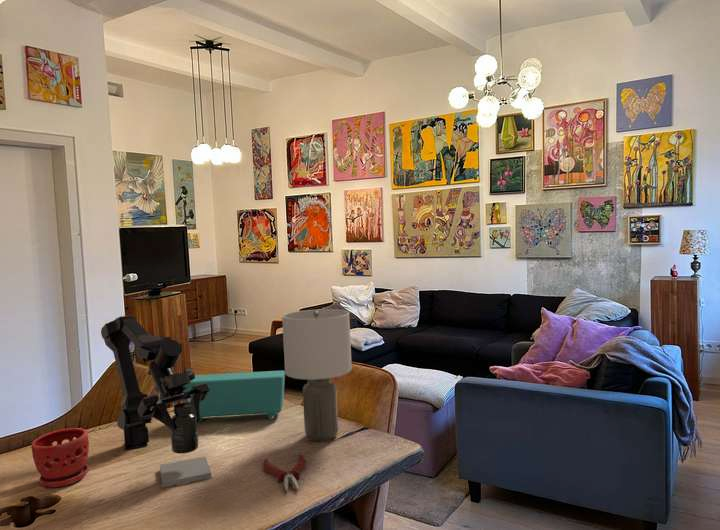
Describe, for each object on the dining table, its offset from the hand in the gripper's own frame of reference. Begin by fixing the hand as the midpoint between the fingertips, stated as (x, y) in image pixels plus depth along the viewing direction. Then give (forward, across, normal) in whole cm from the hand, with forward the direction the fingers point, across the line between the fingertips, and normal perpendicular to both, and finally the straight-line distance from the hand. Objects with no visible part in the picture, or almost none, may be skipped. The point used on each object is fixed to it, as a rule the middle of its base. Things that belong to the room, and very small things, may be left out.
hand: (186, 425), depth 145 cm
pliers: (+24, +15, -4) cm, 29 cm away
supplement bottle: (+4, 0, +6) cm, 7 cm away
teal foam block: (-11, +34, +31) cm, 47 cm away
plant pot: (-7, -24, +27) cm, 36 cm away
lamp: (+15, +40, +4) cm, 43 cm away
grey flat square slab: (+8, -1, +10) cm, 13 cm away
